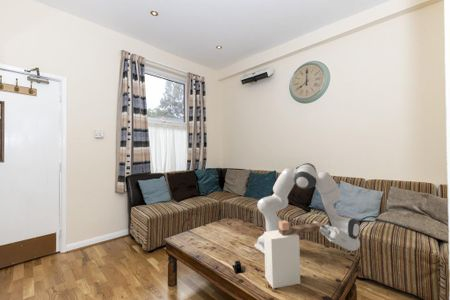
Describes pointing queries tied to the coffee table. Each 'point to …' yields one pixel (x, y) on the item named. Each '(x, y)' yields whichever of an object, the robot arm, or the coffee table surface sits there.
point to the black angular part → (238, 267)
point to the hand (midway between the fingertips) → (316, 225)
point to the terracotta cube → (283, 225)
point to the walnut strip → (301, 229)
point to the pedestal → (281, 259)
